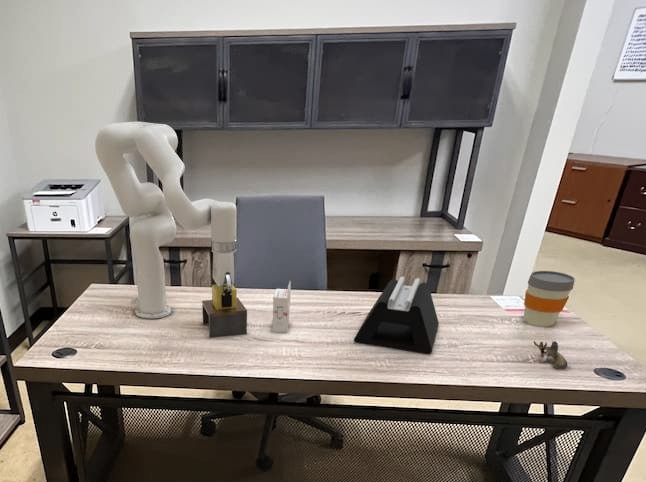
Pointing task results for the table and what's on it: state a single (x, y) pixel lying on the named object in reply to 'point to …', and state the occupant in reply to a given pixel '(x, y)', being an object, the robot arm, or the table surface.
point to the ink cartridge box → (281, 309)
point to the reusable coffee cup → (546, 297)
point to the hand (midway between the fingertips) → (224, 302)
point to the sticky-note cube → (218, 297)
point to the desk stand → (225, 319)
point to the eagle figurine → (552, 354)
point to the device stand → (401, 318)
